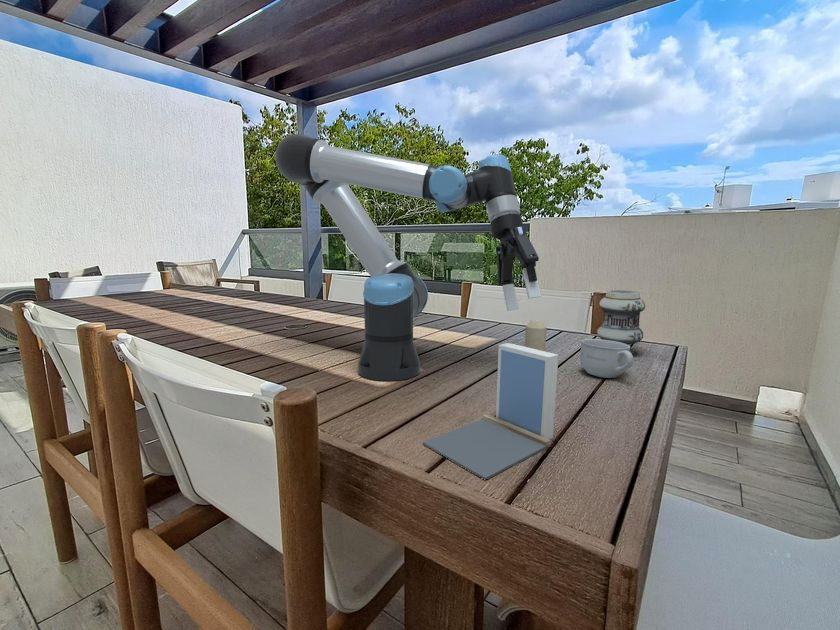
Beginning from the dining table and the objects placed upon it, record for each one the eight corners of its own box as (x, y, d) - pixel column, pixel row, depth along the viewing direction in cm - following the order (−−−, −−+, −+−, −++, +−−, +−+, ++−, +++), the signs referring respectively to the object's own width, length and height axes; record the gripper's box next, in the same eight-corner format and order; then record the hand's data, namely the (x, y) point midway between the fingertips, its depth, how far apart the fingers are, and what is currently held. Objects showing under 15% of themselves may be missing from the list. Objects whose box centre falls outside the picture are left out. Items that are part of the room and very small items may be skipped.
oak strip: (487, 419, 75) (487, 413, 75) (550, 446, 65) (550, 440, 65) (482, 420, 74) (482, 415, 74) (545, 448, 65) (546, 442, 64)
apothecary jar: (601, 345, 129) (605, 287, 126) (644, 351, 123) (650, 290, 119) (591, 353, 120) (595, 291, 117) (637, 360, 113) (644, 294, 110)
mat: (486, 419, 75) (486, 417, 75) (549, 446, 65) (549, 444, 65) (422, 444, 66) (422, 442, 66) (485, 480, 56) (485, 478, 56)
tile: (504, 417, 76) (507, 342, 74) (552, 437, 68) (558, 354, 66) (495, 421, 74) (498, 345, 72) (543, 442, 67) (548, 357, 64)
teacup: (571, 368, 106) (573, 337, 105) (612, 367, 107) (614, 336, 105) (599, 387, 92) (601, 351, 91) (645, 385, 93) (649, 351, 92)
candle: (545, 354, 118) (547, 320, 116) (544, 359, 113) (546, 323, 111) (525, 353, 120) (527, 318, 118) (523, 357, 115) (525, 322, 113)
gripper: (540, 192, 89) (562, 288, 85) (503, 236, 113) (519, 312, 110) (507, 196, 88) (528, 293, 84) (476, 239, 112) (492, 316, 108)
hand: (523, 304), depth 97 cm, fingers open, 13 cm apart
